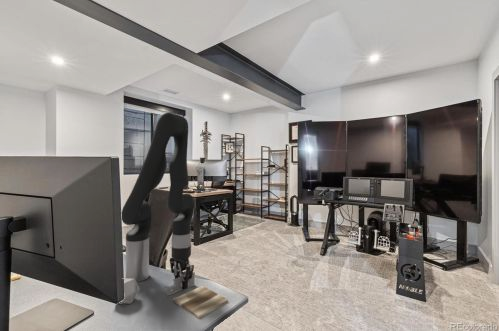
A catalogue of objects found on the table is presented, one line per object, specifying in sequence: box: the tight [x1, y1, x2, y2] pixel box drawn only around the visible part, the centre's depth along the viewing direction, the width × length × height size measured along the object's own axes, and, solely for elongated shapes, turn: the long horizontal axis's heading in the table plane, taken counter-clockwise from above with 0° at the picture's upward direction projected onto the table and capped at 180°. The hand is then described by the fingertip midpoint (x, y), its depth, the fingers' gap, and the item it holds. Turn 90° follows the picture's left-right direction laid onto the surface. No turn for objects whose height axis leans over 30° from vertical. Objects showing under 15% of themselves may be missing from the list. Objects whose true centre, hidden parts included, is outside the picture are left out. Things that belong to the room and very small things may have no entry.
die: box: [118, 278, 141, 305], centre depth 87 cm, size 8×9×10 cm
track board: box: [173, 285, 229, 319], centre depth 87 cm, size 15×13×1 cm
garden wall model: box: [166, 271, 196, 296], centre depth 95 cm, size 12×2×6 cm, turn 134°
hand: (181, 286), depth 95 cm, fingers open, 4 cm apart
